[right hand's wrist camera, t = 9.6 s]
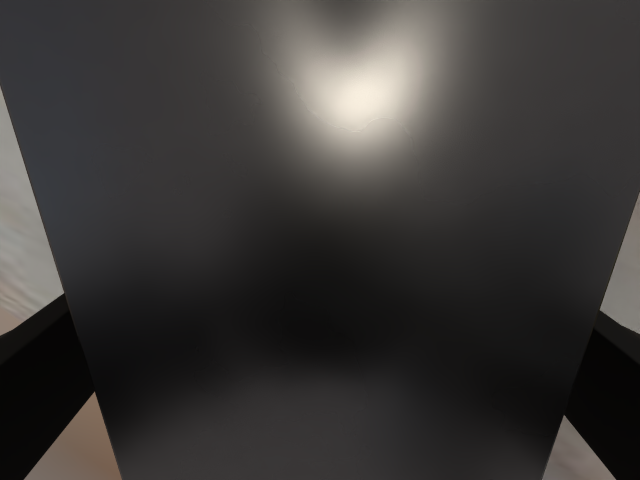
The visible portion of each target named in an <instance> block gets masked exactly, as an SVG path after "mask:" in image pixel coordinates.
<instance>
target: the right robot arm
mask: <svg viewBox="0 0 640 480" xmlns="http://www.w3.org/2000/svg"><path fill="white" fill-rule="evenodd" d="M94 392H95V390H94V387H93V384H92V381H91V377H90V374H89V371H88V368H87V364H86V361H85V358H84V355H83V351H82V348H81V345H80V342H79V339H78V335H77V332H76V329H75V326H74V322H73V319H72V316H71V313H70V309H69V306H68V303H67V300H66V297H65V293H64V294H62V295H61V296H59V297H58V298H57V299H55V300H54V301H52V302H51V303H50V304H48V305H47V306H45V307H44V308H43V309H41V310H40V311H38V312H37V313H36V314H34V315H33V316H31V317H30V318H29V319H27V320H26V321H24V322H23V323H22V324H20V325H19V326H17V327H16V328H15V329H13V330H11V331H9V332H7V333H5V334H3V335H1V336H0V480H24V479H25V477H26V476H27V475H28V474H29V472H30V471H31V470H32V469H33V467H34V466H35V465H36V464H37V462H38V461H39V460H40V459H41V457H42V456H43V455H44V454H45V452H46V451H47V450H48V449H49V448H50V446H51V445H52V444H53V443H54V441H55V440H56V439H57V437H58V436H59V435H60V434H61V433H62V431H63V430H64V429H65V428H66V426H67V425H68V424H69V423H70V421H71V420H72V419H73V418H74V416H75V415H76V414H77V413H78V411H79V410H80V409H81V408H82V406H83V405H84V404H85V403H86V401H87V400H88V399H89V398H90V396H91V395H92V394H93V393H94ZM564 415H565V416H566V418H567V419H568V420H569V421H570V423H571V424H572V425H573V426H574V428H575V429H576V430H577V431H578V433H579V434H580V435H581V436H582V438H583V439H584V440H585V441H586V443H587V444H588V445H589V446H590V448H591V449H592V450H593V451H594V452H595V454H596V455H597V456H598V457H599V459H600V460H601V461H602V462H603V464H604V465H605V466H606V467H607V469H608V470H609V471H610V472H611V474H612V475H613V476H614V477H615V479H616V480H640V334H638V333H636V332H634V331H632V330H630V329H628V328H626V327H624V326H621V325H620V324H618V323H617V322H616V321H614V320H613V319H611V318H610V317H609V316H607V315H606V314H604V313H603V312H602V311H600V310H599V313H598V316H597V319H596V321H595V324H594V327H593V330H592V333H591V336H590V339H589V342H588V345H587V348H586V351H585V354H584V357H583V360H582V363H581V366H580V369H579V372H578V374H577V377H576V380H575V383H574V386H573V389H572V392H571V395H570V398H569V401H568V404H567V407H566V410H565V413H564Z"/></svg>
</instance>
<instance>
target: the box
mask: <svg viewBox="0 0 640 480" xmlns="http://www.w3.org/2000/svg"><path fill="white" fill-rule="evenodd" d="M0 86H1V90H2V93H3V96H4V99H5V103H6V106H7V109H8V112H9V115H10V119H11V122H12V125H13V128H14V132H15V135H16V138H17V141H18V145H19V148H20V151H21V154H22V157H23V161H24V164H25V167H26V170H27V174H28V177H29V180H30V183H31V187H32V190H33V193H34V196H35V200H36V203H37V206H38V209H39V212H40V216H41V219H42V222H43V225H44V229H45V232H46V235H47V238H48V242H49V245H50V248H51V251H52V254H53V258H54V261H55V264H56V267H57V271H58V274H59V277H60V280H61V284H62V287H63V290H64V293H65V297H66V300H67V303H68V306H69V309H70V313H71V316H72V319H73V322H74V326H75V329H76V332H77V335H78V339H79V342H80V345H81V348H82V351H83V355H84V358H85V361H86V364H87V368H88V371H89V374H90V377H91V381H92V384H93V387H94V390H95V393H96V397H97V400H98V403H99V406H100V410H101V413H102V416H103V419H104V423H105V426H106V429H107V432H108V436H109V439H110V442H111V445H112V448H113V452H114V455H115V458H116V461H117V465H118V468H119V471H120V474H121V478H122V480H542V477H543V475H544V472H545V469H546V466H547V463H548V460H549V457H550V454H551V451H552V448H553V445H554V442H555V439H556V436H557V433H558V430H559V427H560V424H561V422H562V419H563V416H564V413H565V410H566V407H567V404H568V401H569V398H570V395H571V392H572V389H573V386H574V383H575V380H576V377H577V374H578V372H579V369H580V366H581V363H582V360H583V357H584V354H585V351H586V348H587V345H588V342H589V339H590V336H591V333H592V330H593V327H594V324H595V321H596V319H597V316H598V313H599V310H600V307H601V304H602V301H603V298H604V295H605V292H606V289H607V286H608V283H609V280H610V277H611V274H612V271H613V268H614V266H615V263H616V260H617V257H618V254H619V251H620V248H621V245H622V242H623V239H624V236H625V233H626V230H627V227H628V224H629V221H630V218H631V215H632V213H633V210H634V207H635V204H636V201H637V198H638V195H639V192H640V0H0Z"/></svg>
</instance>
